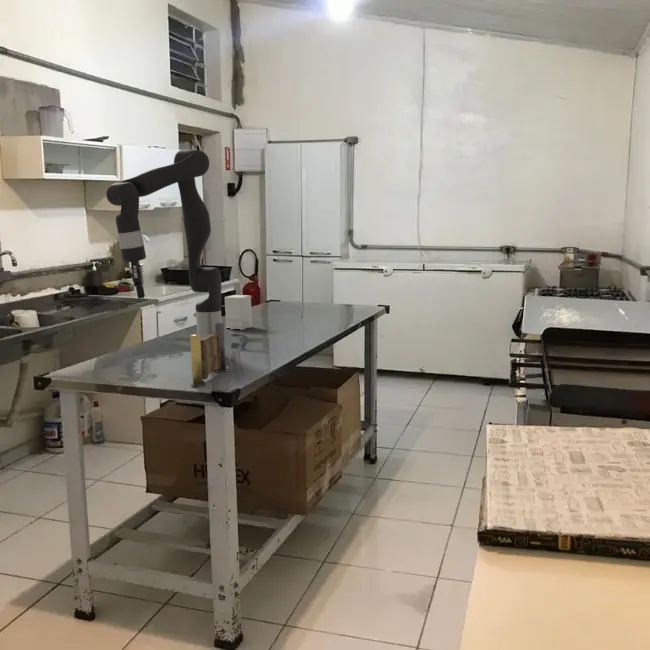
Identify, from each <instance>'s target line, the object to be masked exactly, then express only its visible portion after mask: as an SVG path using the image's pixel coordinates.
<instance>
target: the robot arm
mask: <svg viewBox="0 0 650 650" xmlns="http://www.w3.org/2000/svg"><path fill="white" fill-rule="evenodd" d="M209 168H210V159H209V157H208V154H207V153H206V152H205V151H202V150H198V149H180V150H178V151H177V152H176V153H175V155H174V159H173V163H172V164H168V165H165V166H164V165H163V166H161V167H155V168H152V169H150V170H147V171H145V172H142V173H140V174H137V175H136V176H133V177H130V178H127V179H124V180H121V181H118V182H115V183H113V184H111V185H109V186H108V188H107V190H106V195H105V197H106V199H107V201H108V202H109V203H110V204H111V205H112V206H117V207H118V206H119V207H120V213H119V214H117V215H116V216H115V224H116V229H117V234H118V244H119V245H118V246H119V249H120V255H121V260H122V262H124V263H130V266H129V267H128V268H129V273H130V276H131V281H132V282H133V285H134V287H135V289H136V290H135V291H136V295H137V298H138V299H144V298H145V296H146V295H145V289H144V285H145V284H144V282H145V281H144V271H143V270H144V266H143V264H141V263H140V261H143V260H145V259H146V258H147V254H146V250H145V242H144V239H143V233H142V232H141V227H140V225H141V224H140V220H139V212H140V211H139V209H140V207H139V206H140V198H141V197H142V198H143V197H146V196H147V197H148V196H149V195H151V194H154V193H155V192H157V191H159V190H162V189H164V188H166V187H169V186H171V185H174V184H177V186H178V190H179V195H180V202H181V209H182V215H183V217H182V219H183V225H184V226H183V227H184V234H185V240H186V248H187V256H188V257H187V259H188V280H189V286H190V288H191V290H192V292H194V293H208V296H207V298H206V299H204V300H202V301H199V302H197V303H196V304H195V319H196V320H195V321H196V334H200V339H202V338H204V337H206V336H208V335H210V334H212V333H214V332H215V324H216V323H223V322H222V273H221V271H220V269H219V268H218V267H210V266H209V267H202V266H201V258H202V257H201V256H202V253H203V250H204V248H205V246H206V244H207V242H208V240H209V238H210V236H211V232H212V231H211V230H212V228H211V219H210V212H209V210H208V208H207V206H206V204H205V202H204V201H203V199H202V198H201V196H200V194H199V192H198V189H197V185H196V178H198V177H199V178H200V177H201V176H204V175H205V174H206V173H207V172H208V170H209Z"/></svg>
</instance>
